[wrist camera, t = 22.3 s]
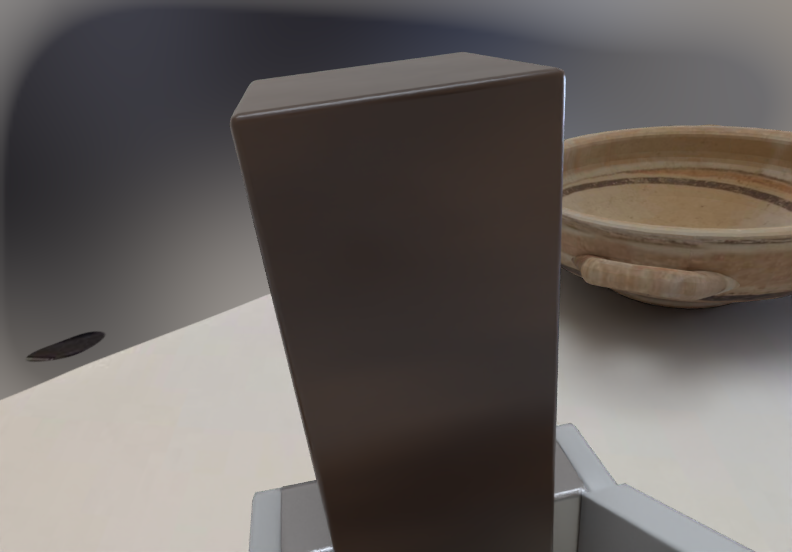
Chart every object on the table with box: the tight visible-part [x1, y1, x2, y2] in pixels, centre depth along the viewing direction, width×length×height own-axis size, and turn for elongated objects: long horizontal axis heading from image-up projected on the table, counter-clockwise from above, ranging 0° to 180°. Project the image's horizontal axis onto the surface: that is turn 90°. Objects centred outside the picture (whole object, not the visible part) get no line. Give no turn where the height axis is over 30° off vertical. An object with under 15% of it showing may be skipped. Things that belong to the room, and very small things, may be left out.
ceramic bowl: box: [561, 125, 792, 308], centre depth 47 cm, size 37×28×10 cm
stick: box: [230, 52, 566, 552], centre depth 10 cm, size 3×3×16 cm
